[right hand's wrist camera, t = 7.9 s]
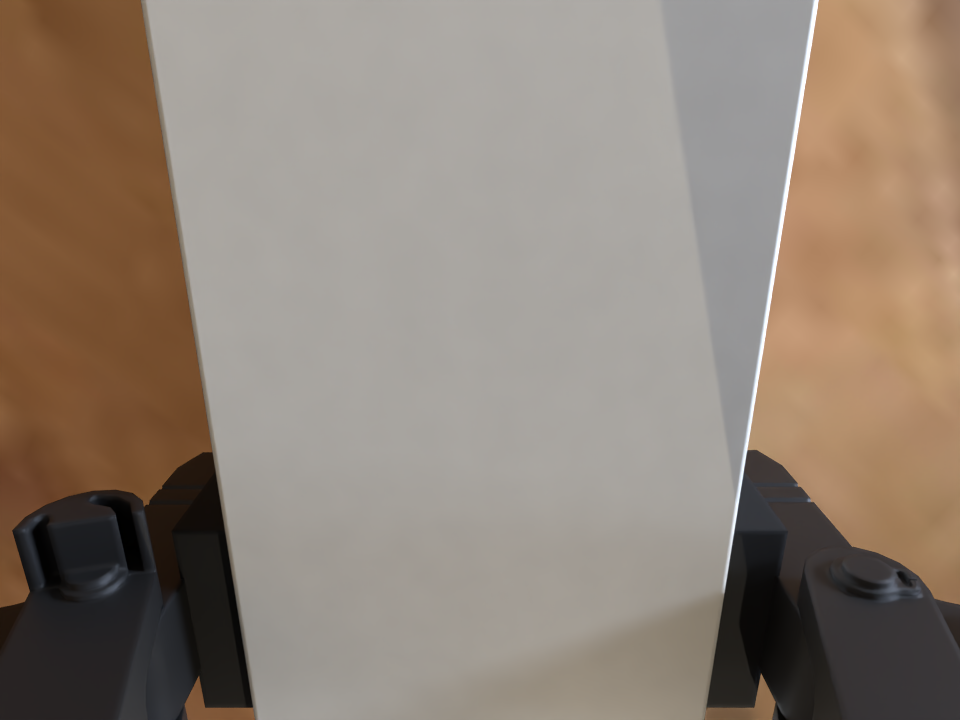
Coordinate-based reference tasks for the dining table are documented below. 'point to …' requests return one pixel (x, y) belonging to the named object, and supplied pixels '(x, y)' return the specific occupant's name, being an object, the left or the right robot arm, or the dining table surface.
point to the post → (479, 335)
